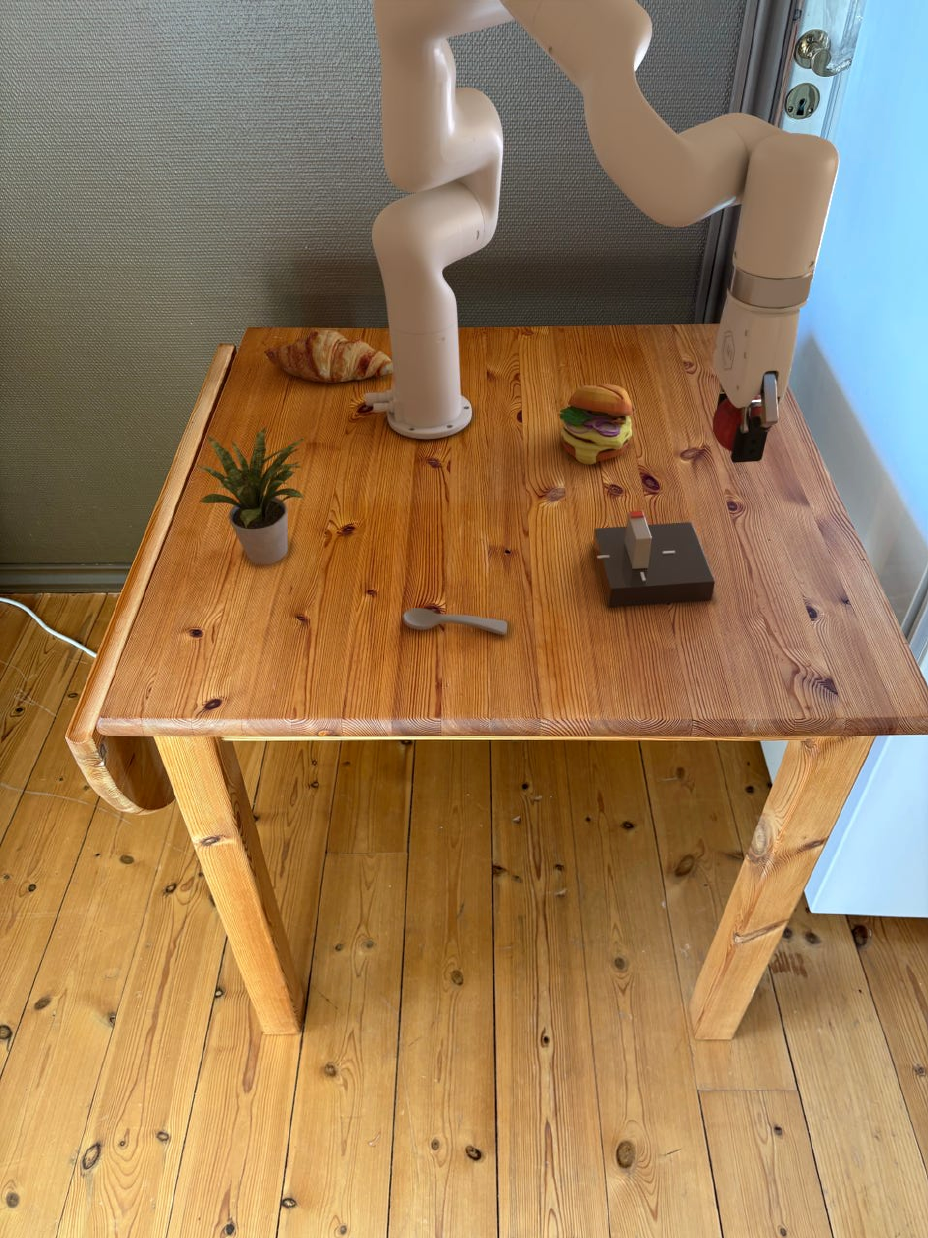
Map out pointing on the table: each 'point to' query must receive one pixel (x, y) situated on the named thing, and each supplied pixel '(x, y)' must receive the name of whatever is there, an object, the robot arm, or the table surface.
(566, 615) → the table surface
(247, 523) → the house plant
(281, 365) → the croissant
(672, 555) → the dial base
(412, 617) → the spoon
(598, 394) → the cheeseburger
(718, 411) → the onion
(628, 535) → the knob
